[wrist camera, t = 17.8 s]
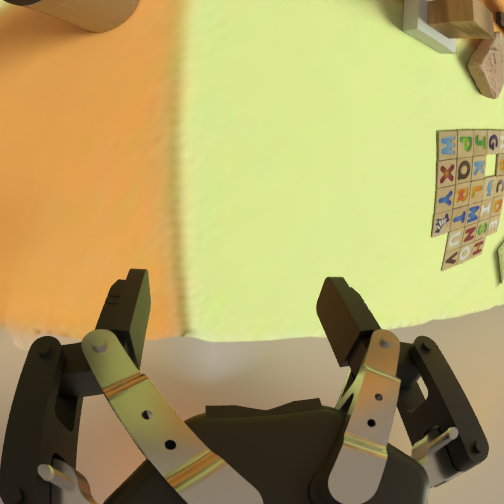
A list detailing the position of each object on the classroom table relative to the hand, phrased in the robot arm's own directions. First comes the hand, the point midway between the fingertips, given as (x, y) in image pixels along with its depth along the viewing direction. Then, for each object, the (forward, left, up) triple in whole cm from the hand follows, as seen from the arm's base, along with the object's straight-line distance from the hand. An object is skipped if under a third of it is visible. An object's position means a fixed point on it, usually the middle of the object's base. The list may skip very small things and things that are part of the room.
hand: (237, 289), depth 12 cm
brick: (+20, +54, -29) cm, 65 cm away
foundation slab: (+6, +42, -28) cm, 51 cm away
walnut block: (+6, +42, -24) cm, 49 cm away
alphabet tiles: (+44, +32, -29) cm, 62 cm away
